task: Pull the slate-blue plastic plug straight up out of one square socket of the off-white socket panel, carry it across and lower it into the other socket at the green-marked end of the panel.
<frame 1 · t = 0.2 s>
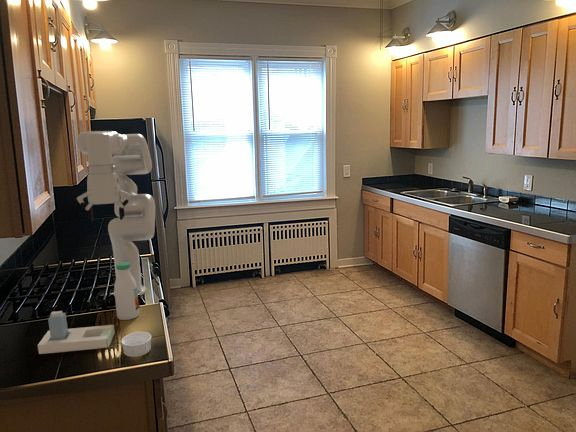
hand: (106, 220, 161), 36 cm above the counter, tool pointing down, fingers open, 9 cm apart
socket panel: (77, 343, 152), on the counter
ramekin: (137, 351, 146), on the counter
milk bottle: (128, 316, 171), on the counter
plug: (61, 344, 151), resting in socket panel
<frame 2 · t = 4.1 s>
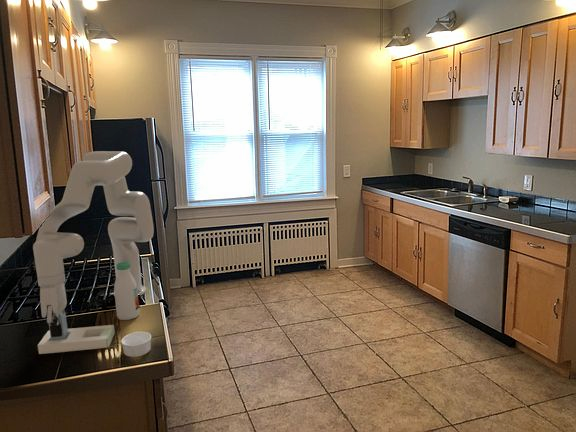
hand: (59, 332, 150), 4 cm above the counter, tool pointing down, fingers closed on plug, 4 cm apart
plug: (60, 344, 151), resting in socket panel, touching gripper
everything else where it was.
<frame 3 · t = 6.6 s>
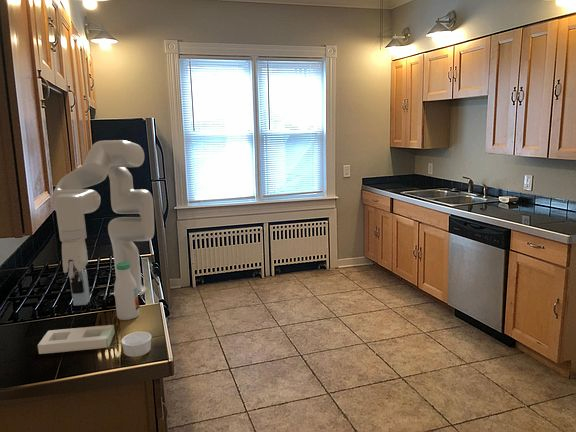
hand: (80, 289, 148), 18 cm above the counter, tool pointing down, fingers closed on plug, 4 cm apart
plug: (81, 302, 149), point 14 cm above the counter, touching gripper
everything else where it was.
when the fingers open (5 cm above the counter, at t = 9.4 s): plug stays where it is, resting in socket panel.
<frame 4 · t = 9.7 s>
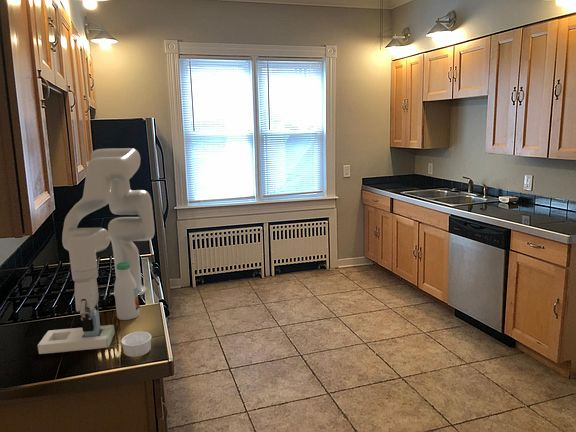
hand: (91, 324, 151), 6 cm above the counter, tool pointing down, fingers open, 7 cm apart
plug: (93, 341, 153), resting in socket panel
everything else where it was.
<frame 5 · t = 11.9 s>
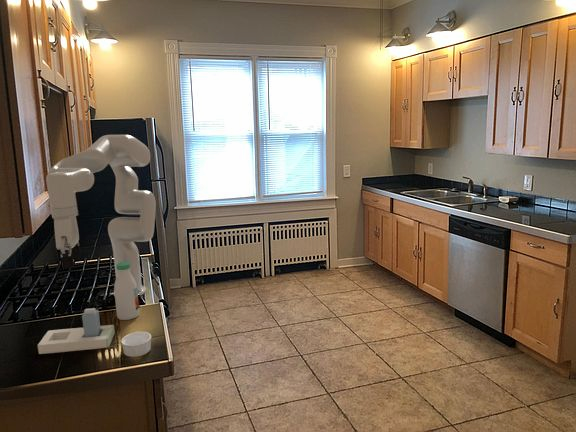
hand: (72, 262, 152), 25 cm above the counter, tool pointing down, fingers open, 9 cm apart
nothing on the counter moved.
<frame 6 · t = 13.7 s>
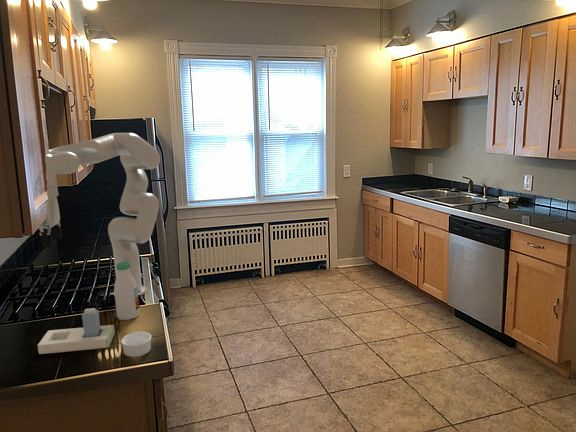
hand: (52, 242, 157), 30 cm above the counter, tool pointing down, fingers open, 9 cm apart
nothing on the counter moved.
at the end: plug 0.1 cm from the target spot on the socket panel, point 0.0 cm above the socket panel's base; plug tilted 0°; the gripper is holding nothing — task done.
